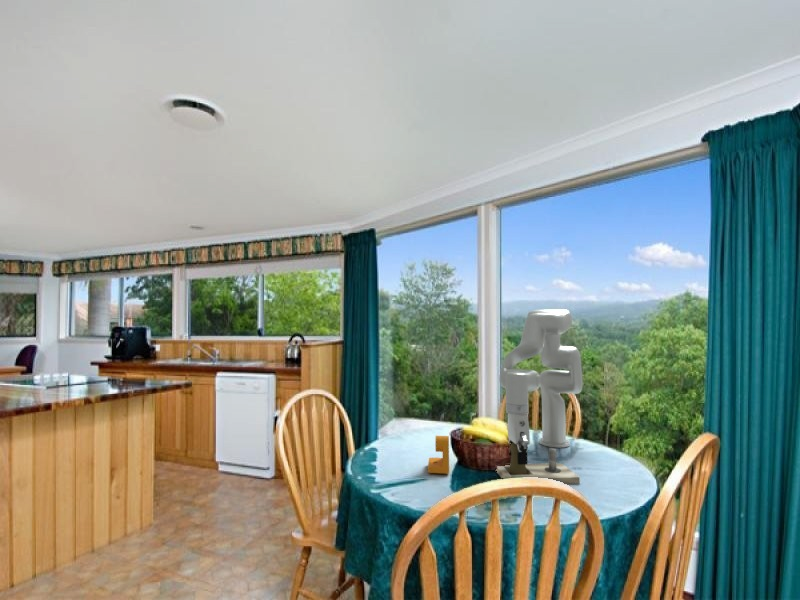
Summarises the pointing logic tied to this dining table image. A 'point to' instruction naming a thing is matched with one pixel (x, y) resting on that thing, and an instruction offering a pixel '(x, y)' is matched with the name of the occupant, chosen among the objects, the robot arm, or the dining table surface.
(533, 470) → the beige panel with knob
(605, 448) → the dining table surface
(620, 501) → the dining table surface
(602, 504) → the dining table surface
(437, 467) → the bracket
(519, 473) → the olive rounded piece
